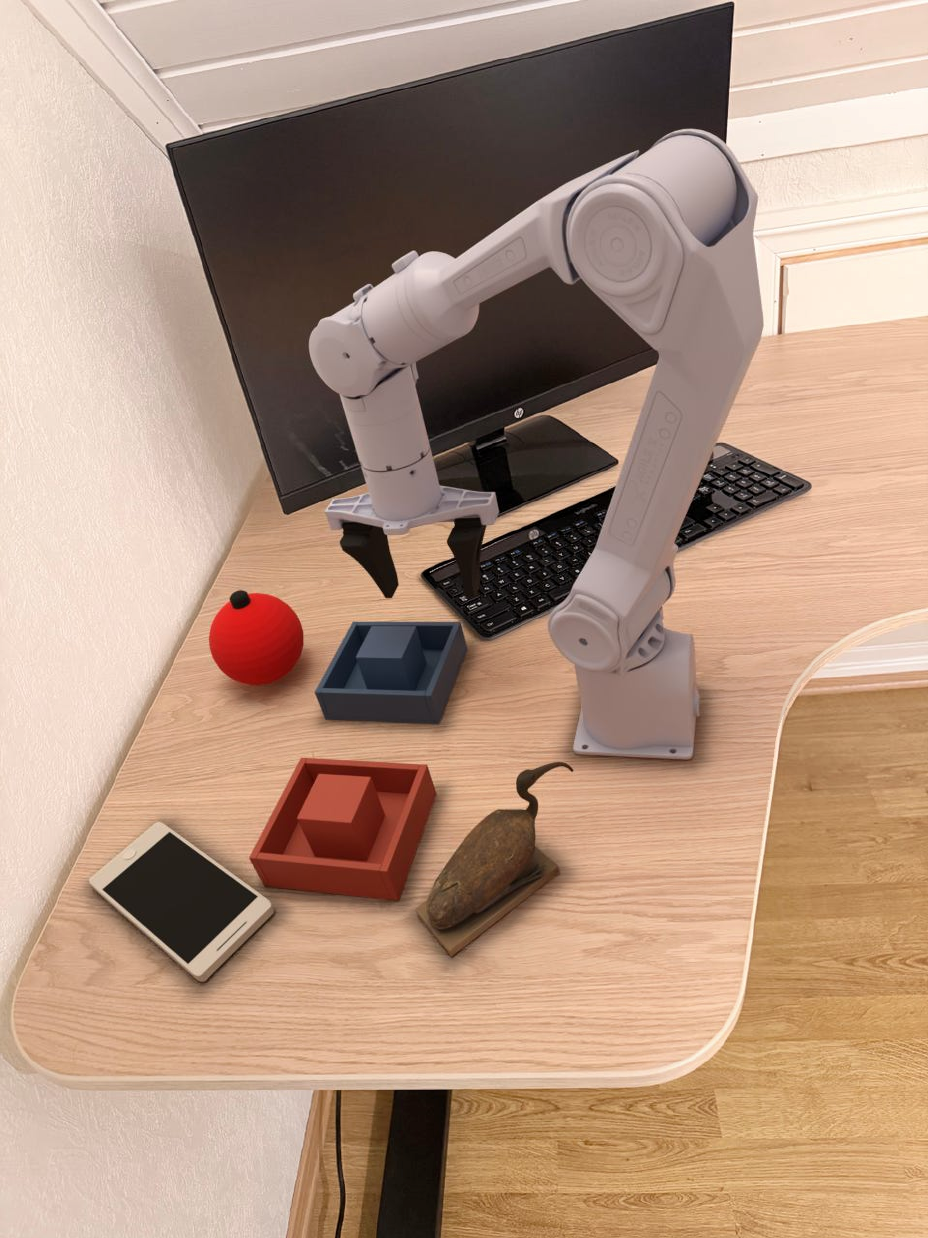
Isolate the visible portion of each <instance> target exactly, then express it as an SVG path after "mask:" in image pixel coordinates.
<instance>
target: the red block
mask: <svg viewBox="0 0 928 1238" xmlns="http://www.w3.org/2000/svg"><path fill="white" fill-rule="evenodd" d="M384 817H385V813H384V810H383V808H382V805H381V803H380V800H379V797H378V795H377V792H376V789H375V787H374V784H373V781H372V779H371V777H363V776H347V775H331V774H318V776H317V778H316V780H315V782H314V784H313V787H312V789H311V791H310V793H309V795H308V797H307V799H306V801H305V803H304V805H303V807H302V809H301V811H300V813H299V815H298V817H297V820H298V822H299V824H300V826H301V828H302V830H303V833H304V835H305V837H306V839H307V841H308V843H309V845H310V848H311V850H312V852H313V854H314V856H322V857H332V858H343V859H354V860H364V861H367V859H368V857H369V854H370V852H371V849H372V847H373V844H374V842H375V839H376V837H377V834H378V832H379V829H380V827H381V824H382V822H383V819H384Z"/></svg>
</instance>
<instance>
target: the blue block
mask: <svg viewBox="0 0 928 1238" xmlns="http://www.w3.org/2000/svg"><path fill="white" fill-rule="evenodd" d="M356 659H357V662H358V665H359V668H360V671H361V674H362V676H363V679H364V682H365V685H366V688H367V689H371V690H405V691H415V689H416V687H417V684H418V682H419V680H420V677H421V675H422V673H423V670H424V668H425V665H426V663H427V662H426V659H425V655H424V652H423V649H422V645H421V642H420V638H419V635H418V631H417V628H416V626H372V627H371V629H370V630H369V632H368V634H367V636H366V638H365V640H364V642H363V644H362V646H361V648H360V650H359V652H358V654H357V656H356Z"/></svg>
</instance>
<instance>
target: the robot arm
mask: <svg viewBox="0 0 928 1238" xmlns="http://www.w3.org/2000/svg"><path fill="white" fill-rule="evenodd" d="M638 155H639V156H638ZM753 186H754V185H752V182H751V181H750V179H749V177H748V176H747V173H745V171H744V169H743V167H742V165H741V164H740V162H739V160H738V158H737V156H736V155H735V153H734V152H733V151H732V149H731V147H729V146H728V145H727V143H725V141H723V140H722V138H719V137H718V136H717V135H714V134H713V133H711V132H708V131H706V130H702V129H696V128H682V129H678V130H674V131H672V132H670V133H667V134H666V135H664V136H663V137H661V138H659V139H658V140H657V141H656V142H655V143H654V144H653V145H652V146H651V147H650V148H649V149H648V150H647V151H645V152H644V153H642V154H641V155H640V150H639V149H637V150H635V151H633V152H630V153H628V154H625V155H622V156H620V157H618V158H616V159H613V160H612V161H610V162H607V163H605V164H603V165H601V166H599V167H596V168H595V169H593V170H591V171H589V172H587V173H583V174H582V175H580V176H578V177H576V178H574V179H572V180H570V181H568V182H565V183H564V184H563V185H561V186H559V187H557V188H556V189H555V190H553V191H551V192H550V193H548V194H547V195H545V196H543V197H542V198H540V199H538V200H537V201H535V202H534V203H533V204H531V205H530V206H528V207H527V208H525V209H524V210H523V211H521V212H520V213H519V214H517V215H515V216H514V217H512V218H511V219H510V220H509V221H507V222H506V223H504V224H503V225H501V226H500V227H499V228H497V229H496V230H494V231H493V232H491V233H490V234H488V235H487V236H486V237H484V238H483V239H481V240H480V241H479V242H477V243H476V244H474V245H473V246H471V247H470V248H468V249H467V250H466V251H465V252H462V253H461V254H460V255H458V256H457V257H456V258H455V257H453V256H451V255H450V254H448V253H446V252H442V251H441V252H440V251H427V252H425V253H423V254H421V255H420V256H419V254H418V252H417V251H416V250H412V251H410V252H408V253H406V254H405V255H402V256H401V257H400V258H398V259H397V260H395V261H394V262H393V263H392V264H391V268H392V269H393V271H394V273H393V274H392V275H391V276H389V277H388V278H386V279H384V280H383V281H382V282H380V283H379V284H377V285H376V286H373V285H372V284H371V283H367V284H366V285H364V286H363V287H361V288H359V289H358V290H357V291H355V292H353V295H352V298H353V300H354V302H352V303H350V304H349V305H347V306H345V307H344V308H342V309H340V310H339V311H337V312H336V313H334V314H332V315H331V316H326V317H323V318H321V319H320V320H319V322H318V323H317V326H315V327H314V328H313V330H312V331H311V332H310V335H309V340H308V350H309V356H310V360H311V363H312V366H313V367H314V369H315V371H316V373H317V375H318V376H319V378H320V379H321V380H322V382H324V383H325V385H326V386H327V387H328V388H330V389H331V390H332V391H334V392H335V393H337V394H339V397H340V401H341V403H342V408H343V411H344V414H345V418H346V421H347V425H348V428H349V432H350V435H351V437H352V441H353V444H354V447H355V451H356V455H357V457H358V461H359V463H360V467H361V471H362V475H363V478H364V482H365V484H366V488H367V491H368V492H366V493H363V494H358V495H354V496H349V497H343V498H342V497H341V498H332V499H331V501H330V502H329V504H328V505H327V507H326V508H325V510H324V515H325V517H326V520H327V523H328V526H329V529H330V531H341V530H342V537H341V539H340V540H339V545H340V548H341V550H342V551H343V552H344V553H346V554H347V555H348V556H350V557H351V558H352V559H353V560H355V561H356V562H357V563H358V564H359V565H360V566H361V568H363V569H364V570H365V571H366V572H367V574H368V575H369V576H370V578H371V579H372V580H373V581H374V583H375V585H376V587H378V589H379V591H380V592H381V594H382V596H383V597H384V598H385V599H393V597H394V595H395V593H396V591H397V589H398V587H399V585H400V584H399V583H400V582H399V577H398V573H397V569H396V566H395V561H394V559H393V555H392V553H391V549H390V544H389V539H388V536H403V535H406V534H408V533H409V532H410V531H411V529H415V528H418V527H424V526H427V525H432V524H436V523H453V524H454V526H453V527H452V528H451V530H450V533H449V534H448V537H447V539H446V544H447V547H448V548H449V550H450V551H451V553H452V555H453V557H454V560H455V562H456V564H457V568H458V570H459V573H460V578H461V583H462V588H463V592H464V594H465V596H466V599H474V598H476V596H477V593H478V592H479V588H480V587H481V586H480V585H481V581H480V566H481V565H480V563H481V555H482V548H483V542H484V538H485V533H486V529H487V526H493V525H495V523H496V521H497V519H498V516H499V513H500V510H499V506H498V501H497V495H496V492H495V491H476V490H469V489H464V488H457V487H451V486H445V485H440V482H439V477H438V473H437V470H436V465H435V461H434V457H433V453H432V449H431V444H430V441H429V436H428V432H427V429H426V424H425V420H424V416H423V412H422V408H421V403H420V399H419V396H418V391H417V386H416V384H417V382H418V381H417V380H418V379H419V373H418V369H417V362H418V361H420V360H422V359H424V358H425V357H427V356H429V355H431V354H433V353H435V352H437V351H438V350H440V349H442V348H444V347H446V346H447V345H449V344H451V343H452V342H454V341H456V340H459V339H460V338H462V337H464V336H466V335H467V334H469V333H470V332H471V331H472V330H473V328H474V326H475V325H476V323H477V320H478V318H479V314H480V304H481V303H483V302H485V301H487V300H489V299H490V298H493V297H494V296H497V295H498V294H500V293H502V292H504V291H506V290H508V289H510V288H512V287H514V286H516V285H517V284H519V283H521V282H523V281H526V280H527V279H529V278H531V277H533V276H535V275H537V274H538V273H540V272H543V271H545V270H546V269H549V268H551V269H552V271H554V273H555V274H556V275H557V277H559V278H560V280H561V281H563V283H564V284H567V285H574V284H575V283H577V282H579V280H582V281H583V282H584V284H585V285H586V286H587V287H588V288H589V289H590V290H591V291H592V292H593V294H595V295H596V296H597V298H599V299H600V300H601V301H602V302H603V303H604V304H605V305H606V306H608V307H609V308H610V310H612V311H613V312H614V313H615V314H616V315H617V316H618V317H619V318H620V319H621V320H622V321H624V323H625V324H627V325H628V326H629V328H631V329H632V330H633V331H634V332H635V333H636V334H637V335H638V336H639V337H640V338H642V339H643V340H644V341H645V342H646V343H647V344H648V345H649V346H650V347H651V348H652V349H653V350H655V351H657V353H658V360H657V363H656V366H655V369H654V371H653V374H652V378H651V381H650V383H649V387H648V390H647V393H646V395H645V398H644V401H643V404H642V407H641V409H640V414H639V416H638V419H637V422H636V425H635V429H634V430H633V434H632V437H631V439H630V443H629V446H628V449H627V452H626V455H625V458H624V461H623V464H622V466H621V470H620V473H619V476H618V478H617V480H616V481H617V482H616V485H615V488H614V491H613V493H612V497H611V499H610V503H609V505H608V508H607V511H606V514H605V517H604V520H603V523H602V525H601V529H600V532H599V534H598V538H597V542H596V544H595V546H594V549H593V550H592V553H591V554H590V556H589V557H588V559H587V561H586V562H585V564H584V566H583V568H582V569H581V571H580V573H579V574H578V575H577V578H576V580H575V581H574V583H573V585H572V587H571V589H570V593H569V594H568V595H567V597H566V598H565V599H564V600H563V601H562V602H560V603H559V604H558V605H557V606H556V607H554V609H553V610H551V612H550V614H549V617H548V620H547V630H548V633H549V636H550V640H551V642H552V643H553V644H554V645H553V646H555V648H556V649H557V650H558V652H559V653H560V654H561V655H562V657H564V658H565V659H566V660H567V661H568V662H569V663H571V664H572V665H573V666H574V671H575V677H576V684H577V689H578V690H577V691H578V695H579V701H580V707H581V709H580V712H579V718H578V723H577V727H576V730H575V736H574V741H573V745H572V751H573V753H574V754H576V755H585V756H588V755H590V756H609V757H625V758H626V757H627V758H628V757H629V758H630V757H631V758H648V759H649V758H650V759H666V760H667V759H668V760H669V759H672V760H690V759H692V758H693V756H694V746H695V733H696V724H697V718H699V717H700V711H701V709H700V707H701V702H700V701H701V699H700V694H699V690H698V682H697V665H696V649H695V648H696V647H695V639H694V636H693V634H690V633H683V632H679V631H674V630H671V629H669V628H666V627H665V625H664V622H663V621H664V610H663V609H664V608H663V606H664V605H665V604H666V603H667V602H668V600H669V599H671V597H672V596H673V594H674V592H675V588H676V580H677V579H676V575H675V569H674V564H675V560H676V559H675V558H676V555H677V554H678V551H679V546H678V545H677V544H676V543H675V541H676V539H677V538H678V537H677V536H678V534H679V532H680V530H681V527H682V524H683V523H684V520H685V518H686V515H687V513H688V511H689V508H690V506H691V504H692V501H693V499H694V496H695V495H696V492H697V490H698V487H699V485H700V482H701V480H702V479H703V475H704V473H705V471H706V468H707V466H708V464H709V461H710V459H711V457H712V454H713V452H714V450H715V448H716V445H717V443H718V440H719V438H720V436H721V433H722V431H723V428H724V427H725V424H726V422H727V419H728V417H729V415H730V413H731V410H732V407H733V405H734V403H735V401H736V398H737V397H738V394H739V391H740V390H741V386H742V385H743V382H744V379H745V377H746V374H747V372H748V370H749V367H750V365H751V363H752V361H753V358H754V355H755V353H756V351H757V348H758V347H759V344H760V341H761V339H762V335H763V330H764V326H765V325H764V312H763V303H762V297H761V296H762V295H761V287H760V280H759V271H758V270H759V269H758V263H757V255H756V248H755V239H754V229H755V221H756V215H757V209H758V207H757V206H758V201H759V195H758V193H757V191H756V189H755V188H754V187H753Z"/></svg>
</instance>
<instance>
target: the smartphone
mask: <svg viewBox="0 0 928 1238" xmlns="http://www.w3.org/2000/svg"><path fill="white" fill-rule="evenodd" d="M88 883H89V884H90V886H91V887H92V888H93V890H94V891H95V892H96V893H98V895H99V896H101V897H102V898H103V899H104V900H105V901H106V902H107V903H108V904H110V905H111V906H112V907H113V908H114V909H116V911H118V912H119V913H120V914H121V915H123V917H124V918H125V919H127V920H128V921H129V922H130V923H132V925H134V926H135V927H136V928H137V929H138V930H140V931H141V932H142V934H144V935H145V936H146V937H147V938H148V939H150V940H151V942H153V943H154V944H155V945H156V946H158V947H159V948H160V949H161V950H162V951H163V952H165V953H166V954H167V955H168V956H169V957H170V958H171V959H172V960H174V961H175V962H176V963H177V964H178V965H179V966H180V967H182V969H184V970H185V971H186V972H187V973H188V974H189V975H191V976H192V977H193V978H194V979H195V980H196V981H198V982H201V983H204V982H206V981H207V980H208V979H209V978H210V977H211V976H212V975H213V974H214V973H215V972H216V971H217V970H218V969H219V968H220V967H221V966H222V965H223V964H224V963H225V962H226V961H227V960H228V959H229V958H230V957H231V956H232V955H233V954H234V953H235V952H236V951H237V950H238V949H239V948H240V947H241V946H242V945H243V944H244V943H246V942H247V940H248V939H249V938H250V937H251V936H252V935H253V934H255V932H256V931H257V930H258V929H259V928H261V926H263V924H264V923H265V922H267V921H268V919H269V918H271V916H272V915H274V913H275V912H276V911H275V908H274V906H273V904H272V903H271V901H270V900H269V899H268V898H266V897H265V896H264V895H263V894H261V893H260V892H259V891H257V890H256V889H254V888H253V887H252V886H250V885H249V884H247V883H246V882H244V881H243V880H242V879H241V878H239V877H238V876H236V875H235V874H234V873H232V872H231V871H230V870H228V869H227V868H226V867H224V866H223V865H221V863H218V862H217V861H216V860H214V859H213V858H212V857H210V856H209V855H208V854H206V853H205V852H203V850H201V849H199V848H198V847H196V846H195V845H193V844H192V843H191V842H190V841H188V840H187V839H186V838H184V837H183V836H182V835H180V834H179V833H177V832H176V831H175V830H173V829H172V828H170V827H169V826H168V825H166V824H165V823H164V822H161V821H156V822H154V824H152V825H151V826H150V827H148V829H146V830H145V831H144V832H142V834H141V835H139V836H138V837H137V838H136V839H134V840H133V841H132V842H131V843H130V844H129V845H127V846H126V847H125V848H124V849H122V850H121V851H120V852H119V853H118V854H116V855H115V856H114V857H113V858H111V860H109V861H108V862H107V863H105V865H104V866H102V867H101V868H100V869H98V871H96V872H95V873H93V874H92V875H91V877H89V878H88Z"/></svg>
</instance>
